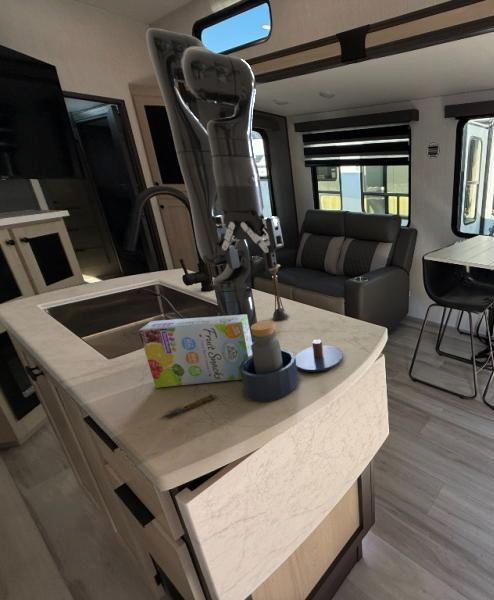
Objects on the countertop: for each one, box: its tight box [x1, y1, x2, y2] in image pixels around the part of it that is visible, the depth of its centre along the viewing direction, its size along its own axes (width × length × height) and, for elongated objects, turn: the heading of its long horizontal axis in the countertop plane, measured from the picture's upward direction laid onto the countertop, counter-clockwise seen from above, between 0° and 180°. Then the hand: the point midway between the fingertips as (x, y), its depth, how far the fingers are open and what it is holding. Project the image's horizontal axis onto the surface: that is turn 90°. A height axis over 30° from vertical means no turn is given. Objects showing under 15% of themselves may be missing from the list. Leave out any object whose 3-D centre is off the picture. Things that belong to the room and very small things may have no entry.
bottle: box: [251, 320, 283, 375], centre depth 71 cm, size 6×6×15 cm
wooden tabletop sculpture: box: [268, 263, 289, 322], centre depth 109 cm, size 6×5×20 cm
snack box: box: [138, 314, 253, 389], centre depth 75 cm, size 21×6×15 cm, turn 100°
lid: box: [294, 339, 344, 373], centre depth 84 cm, size 13×13×6 cm
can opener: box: [164, 394, 214, 419], centre depth 66 cm, size 9×2×1 cm, turn 131°
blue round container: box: [240, 348, 299, 403], centre depth 73 cm, size 12×12×6 cm
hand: (252, 269), depth 64 cm, fingers open, 8 cm apart
